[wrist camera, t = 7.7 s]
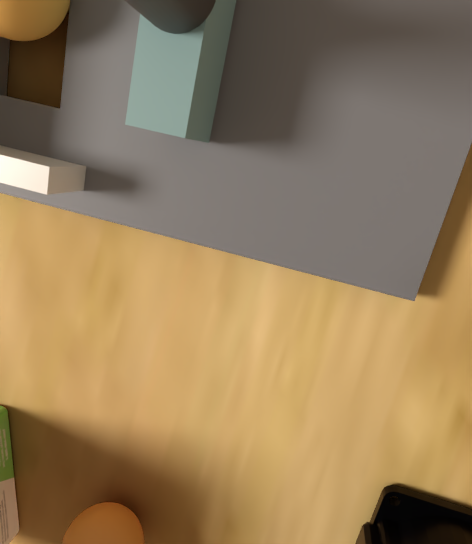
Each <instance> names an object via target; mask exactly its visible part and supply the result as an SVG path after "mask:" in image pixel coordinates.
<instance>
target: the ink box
mask: <svg viewBox="0 0 472 544" xmlns="http://www.w3.org/2000/svg"><path fill="white" fill-rule="evenodd" d="M18 532H19V519H18V509H17V501H16V490H15V481H14V470H13V460H12V450H11V440H10V430H9V419H8V411H7V409H6V408H5V407H3V406H0V544H9V543H10V542H11V540H12V539H13V538H14V537H15V536H16V535H17V533H18Z"/></svg>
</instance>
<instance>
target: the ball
mask: <svg viewBox="0 0 472 544" xmlns="http://www.w3.org/2000/svg"><path fill="white" fill-rule="evenodd" d="M69 4H70V0H0V37H4V38H7V39H11V40H17V41H31V40H37V39H40V38H43V37H45V36H47V35H49V34H50V33H52V32H53V31H54V30H55V29H56V28H58V26H59V25H60V24H61V23H62V21H63V20H64V18H65V16H66V14H67V11H68V8H69Z"/></svg>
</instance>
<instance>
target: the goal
mask: <svg viewBox="0 0 472 544" xmlns="http://www.w3.org/2000/svg"><path fill="white" fill-rule="evenodd" d="M85 174H86V166H82V165H78V164H74V163H70V162H66V161H62V160H58V159H54V158H50V157H46V156H42V155H38V154H33V153H29V152H25V151H21V150H17V149H13V148H9V147H5V146H1V145H0V183H4V184H7V185H11V186H15V187H19V188H23V189H27V190H31V191H35V192H38V193H42V194H46V195H49V194H58V193H67V192H76V191H84V183H85Z"/></svg>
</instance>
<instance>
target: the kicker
mask: <svg viewBox="0 0 472 544" xmlns="http://www.w3.org/2000/svg"><path fill="white" fill-rule="evenodd" d="M125 1H126V2H127V3H128V4H129V5H131V6H132V7H133V8H134V9H135V10H137V11H138V12H139V13H140V19H139V26H138V33H137V41H136V48H135V55H134V63H133V70H132V77H131V85H130V92H129V100H128V107H127V114H126V122H125V125H129V126H134V127H138V128H143V129H147V130H151V131H156V132H160V133H164V134H169V135H173V136H177V137H182V138H186V139H191V140H196V141H202V142H207V143H209V140H210V135H211V130H212V125H213V120H214V114H215V109H216V104H217V99H218V94H219V88H220V83H221V78H222V73H223V68H224V62H225V57H226V52H227V47H228V42H229V36H230V31H231V26H232V21H233V16H234V10H235V5H236V0H125Z"/></svg>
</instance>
